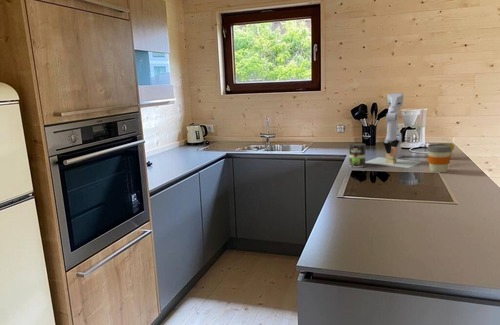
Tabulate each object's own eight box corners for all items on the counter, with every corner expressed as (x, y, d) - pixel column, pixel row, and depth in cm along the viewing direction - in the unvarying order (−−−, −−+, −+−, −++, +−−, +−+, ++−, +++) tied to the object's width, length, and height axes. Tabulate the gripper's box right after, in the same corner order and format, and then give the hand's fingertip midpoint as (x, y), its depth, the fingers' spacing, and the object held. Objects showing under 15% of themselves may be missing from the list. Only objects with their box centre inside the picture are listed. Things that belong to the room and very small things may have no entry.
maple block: (389, 161, 251) (389, 154, 250) (396, 162, 247) (396, 154, 246) (385, 162, 248) (385, 155, 247) (392, 163, 244) (393, 156, 243)
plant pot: (449, 156, 257) (450, 142, 255) (456, 160, 247) (456, 145, 245) (433, 157, 258) (434, 143, 256) (439, 160, 248) (440, 145, 246)
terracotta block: (390, 154, 250) (390, 146, 249) (397, 155, 246) (397, 147, 244) (385, 155, 247) (385, 147, 246) (392, 156, 243) (392, 148, 242)
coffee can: (363, 167, 241) (363, 145, 238) (347, 166, 246) (347, 145, 243) (367, 164, 250) (367, 143, 247) (351, 163, 254) (351, 142, 251)
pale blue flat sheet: (378, 157, 266) (378, 157, 266) (421, 162, 245) (422, 161, 245) (363, 163, 253) (363, 162, 253) (408, 168, 232) (408, 167, 231)
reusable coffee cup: (453, 173, 216) (454, 147, 212) (429, 173, 218) (430, 148, 215) (446, 168, 228) (448, 143, 224) (424, 168, 230) (425, 144, 227)
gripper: (391, 129, 251) (390, 150, 254) (380, 132, 241) (379, 153, 244) (401, 130, 246) (400, 150, 249) (390, 133, 236) (390, 154, 239)
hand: (391, 152), depth 246 cm, fingers open, 7 cm apart
